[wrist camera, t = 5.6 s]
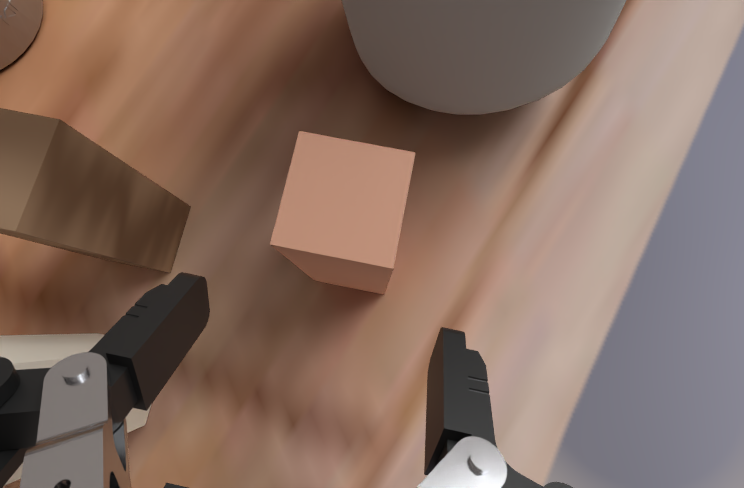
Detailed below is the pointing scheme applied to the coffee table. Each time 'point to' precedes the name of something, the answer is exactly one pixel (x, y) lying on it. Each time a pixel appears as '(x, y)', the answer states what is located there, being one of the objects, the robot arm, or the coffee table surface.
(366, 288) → the terracotta pillar
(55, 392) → the robot arm
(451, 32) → the jar
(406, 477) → the coffee table surface
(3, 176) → the walnut pillar
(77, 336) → the cream pillar
